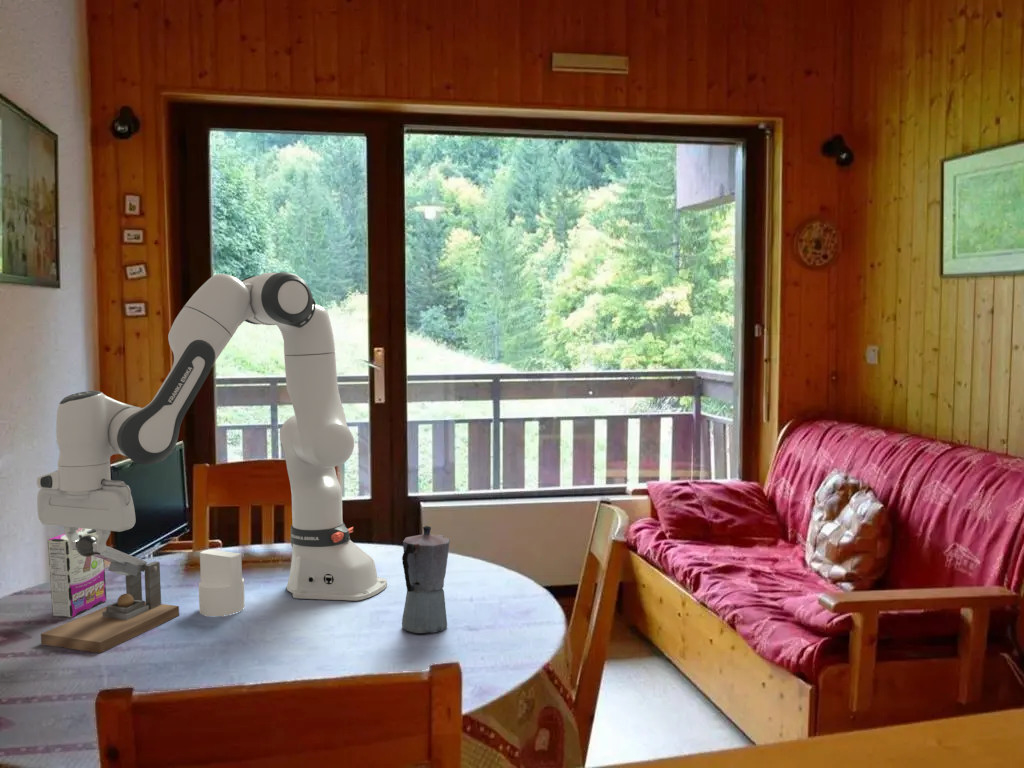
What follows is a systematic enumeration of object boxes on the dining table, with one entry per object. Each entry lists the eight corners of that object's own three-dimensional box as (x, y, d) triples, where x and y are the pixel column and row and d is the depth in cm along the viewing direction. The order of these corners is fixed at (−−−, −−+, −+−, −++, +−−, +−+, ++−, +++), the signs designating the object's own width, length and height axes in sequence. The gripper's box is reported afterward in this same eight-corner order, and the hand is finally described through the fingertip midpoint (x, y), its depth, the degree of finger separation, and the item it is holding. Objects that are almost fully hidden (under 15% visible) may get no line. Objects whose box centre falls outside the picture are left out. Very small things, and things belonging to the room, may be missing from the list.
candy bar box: (86, 599, 190) (83, 525, 188) (107, 601, 189) (104, 526, 187) (49, 617, 179) (46, 538, 177) (71, 618, 178) (67, 539, 176)
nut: (137, 607, 175) (136, 592, 175) (126, 611, 173) (125, 597, 172) (125, 605, 176) (124, 590, 176) (114, 610, 174) (113, 595, 173)
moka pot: (462, 618, 177) (461, 520, 175) (430, 645, 162) (429, 539, 161) (419, 613, 180) (418, 517, 178) (384, 639, 165) (383, 535, 164)
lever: (143, 579, 176) (150, 557, 178) (84, 557, 162) (92, 533, 163) (127, 577, 177) (134, 555, 179) (67, 555, 163) (75, 531, 165)
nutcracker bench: (179, 615, 179) (177, 563, 178) (100, 653, 159) (97, 594, 158) (124, 608, 184) (122, 557, 183) (41, 644, 164) (38, 586, 163)
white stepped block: (253, 605, 185) (252, 550, 184) (223, 619, 177) (221, 561, 176) (221, 600, 189) (219, 545, 188) (189, 613, 181) (187, 556, 180)
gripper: (141, 478, 164) (144, 550, 165) (56, 472, 170) (60, 542, 171) (116, 484, 158) (119, 559, 159) (29, 478, 164) (33, 550, 165)
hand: (88, 550), depth 165 cm, fingers closed on lever, 4 cm apart
